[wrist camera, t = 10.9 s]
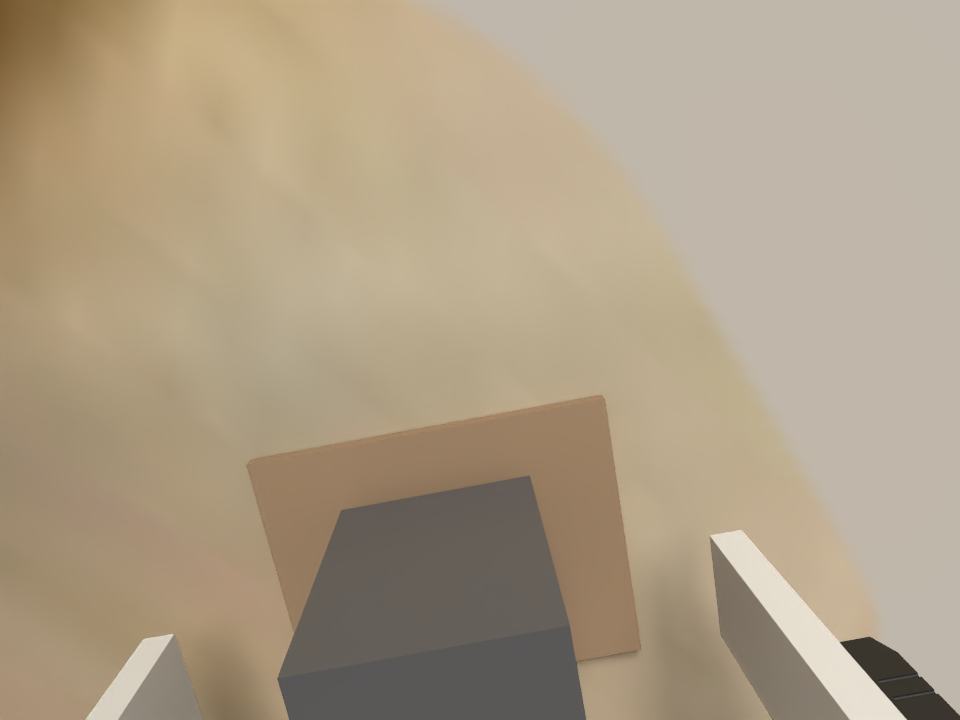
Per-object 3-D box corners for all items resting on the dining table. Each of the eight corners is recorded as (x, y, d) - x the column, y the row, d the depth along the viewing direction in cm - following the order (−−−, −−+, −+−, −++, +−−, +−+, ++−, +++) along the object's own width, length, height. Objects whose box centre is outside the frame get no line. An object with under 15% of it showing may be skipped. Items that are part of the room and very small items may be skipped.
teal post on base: (317, 699, 21) (249, 944, 14) (251, 460, 19) (133, 606, 12) (637, 641, 20) (727, 859, 14) (601, 395, 19) (684, 504, 12)
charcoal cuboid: (382, 672, 19) (344, 906, 13) (340, 510, 18) (277, 678, 12) (559, 640, 19) (610, 859, 13) (529, 475, 18) (569, 625, 12)
